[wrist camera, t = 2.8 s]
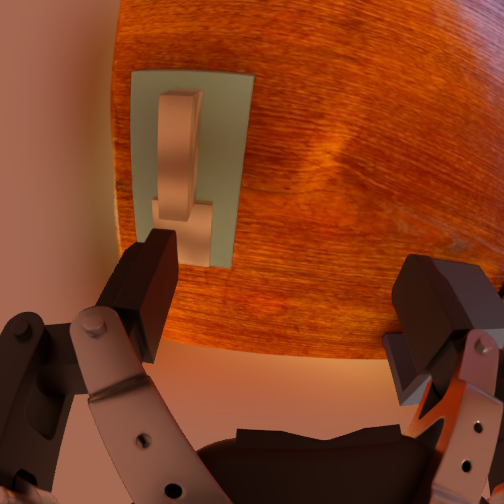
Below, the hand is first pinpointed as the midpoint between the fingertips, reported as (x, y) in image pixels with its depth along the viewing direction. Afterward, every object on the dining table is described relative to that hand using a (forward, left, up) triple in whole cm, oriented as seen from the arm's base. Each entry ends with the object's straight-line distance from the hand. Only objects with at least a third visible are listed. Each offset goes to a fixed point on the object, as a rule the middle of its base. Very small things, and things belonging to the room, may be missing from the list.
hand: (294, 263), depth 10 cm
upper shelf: (+27, -20, -20) cm, 39 cm away
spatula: (-7, -5, -17) cm, 19 cm away
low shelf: (-7, -5, -20) cm, 22 cm away
